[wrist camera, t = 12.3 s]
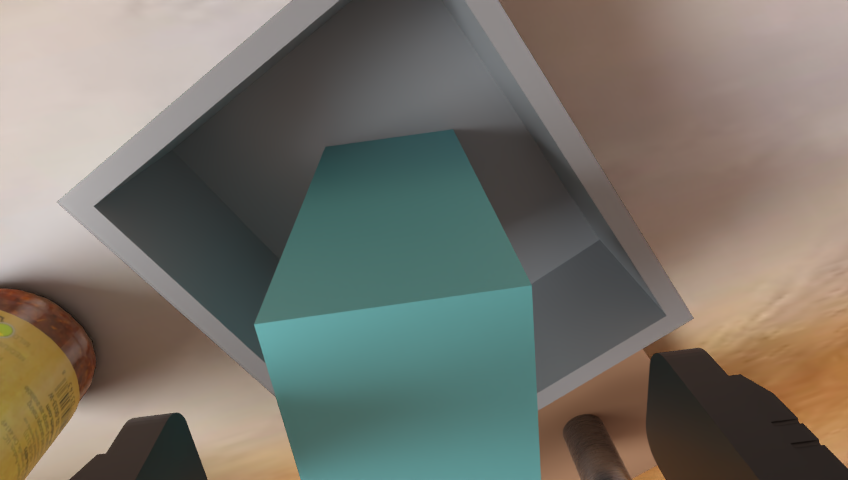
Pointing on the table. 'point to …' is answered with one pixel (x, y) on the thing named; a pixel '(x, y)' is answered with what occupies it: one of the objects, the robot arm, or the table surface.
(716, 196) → the table surface
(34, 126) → the table surface
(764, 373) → the table surface
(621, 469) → the ball stud
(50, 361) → the sauce bottle
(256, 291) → the bin
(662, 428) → the robot arm
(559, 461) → the base
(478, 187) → the strut
